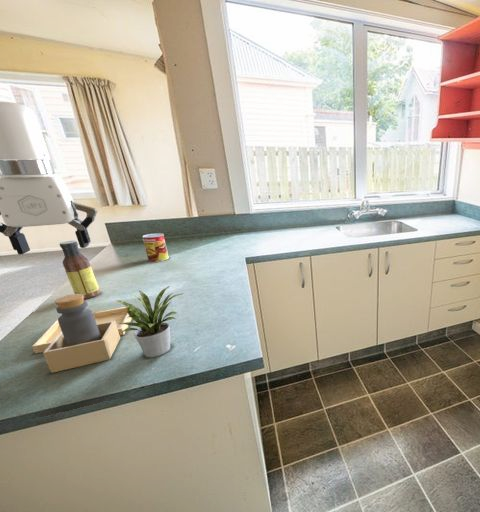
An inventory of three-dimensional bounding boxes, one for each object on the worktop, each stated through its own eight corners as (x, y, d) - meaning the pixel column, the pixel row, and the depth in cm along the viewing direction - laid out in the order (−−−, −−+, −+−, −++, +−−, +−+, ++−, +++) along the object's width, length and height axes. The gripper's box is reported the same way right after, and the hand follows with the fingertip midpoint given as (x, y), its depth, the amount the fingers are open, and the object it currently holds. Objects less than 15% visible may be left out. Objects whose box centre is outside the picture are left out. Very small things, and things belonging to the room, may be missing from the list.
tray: (35, 353, 73) (32, 346, 73) (60, 325, 86) (58, 318, 85) (123, 335, 81) (121, 328, 81) (135, 311, 94) (133, 305, 93)
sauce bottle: (101, 290, 108) (84, 238, 102) (100, 296, 103) (82, 242, 97) (76, 295, 104) (57, 241, 98) (74, 301, 99) (54, 245, 93)
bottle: (66, 357, 72) (44, 301, 67) (95, 343, 77) (77, 291, 72) (81, 362, 70) (60, 305, 65) (109, 348, 75) (92, 294, 70)
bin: (51, 373, 67) (42, 352, 65) (68, 348, 75) (62, 330, 74) (110, 359, 72) (103, 340, 70) (120, 338, 80) (115, 320, 78)
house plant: (198, 328, 85) (186, 275, 80) (195, 355, 73) (181, 295, 68) (135, 341, 79) (119, 285, 73) (121, 373, 67) (100, 309, 62)
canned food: (144, 261, 139) (138, 236, 136) (160, 256, 146) (155, 232, 143) (156, 262, 137) (150, 237, 133) (172, 257, 144) (167, 234, 141)
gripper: (-53, 170, 53) (-13, 260, 58) (77, 169, 61) (102, 248, 67) (-26, 169, 59) (8, 250, 65) (89, 168, 67) (111, 240, 73)
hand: (55, 249), depth 66 cm, fingers open, 9 cm apart
